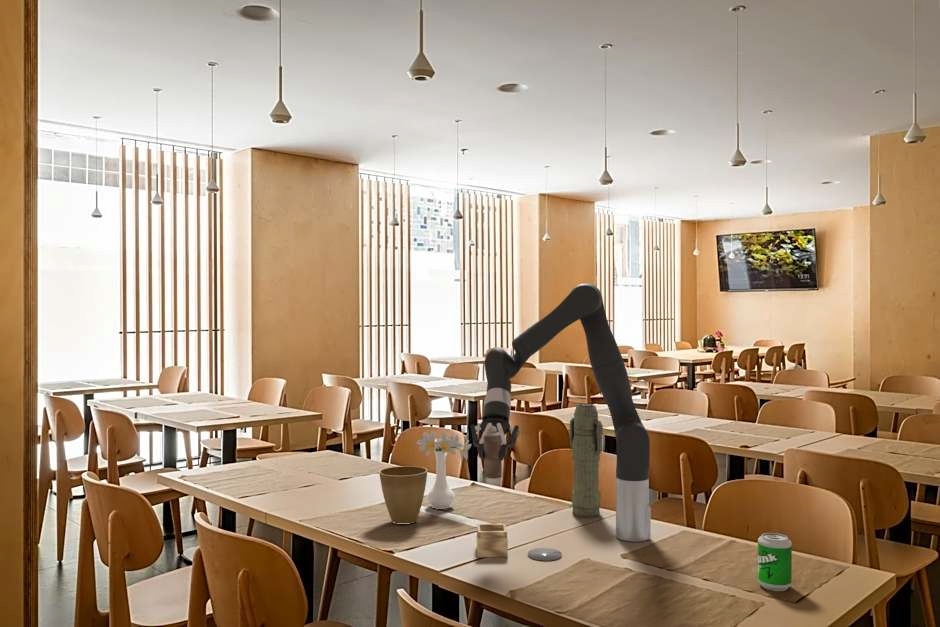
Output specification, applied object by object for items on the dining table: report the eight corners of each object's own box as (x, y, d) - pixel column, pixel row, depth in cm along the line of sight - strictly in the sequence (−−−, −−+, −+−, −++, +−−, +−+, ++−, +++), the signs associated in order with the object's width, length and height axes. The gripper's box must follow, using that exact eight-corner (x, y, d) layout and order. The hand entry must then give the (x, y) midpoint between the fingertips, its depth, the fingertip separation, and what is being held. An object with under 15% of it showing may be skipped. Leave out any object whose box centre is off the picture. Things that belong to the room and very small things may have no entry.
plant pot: (431, 515, 250) (430, 465, 250) (423, 529, 236) (423, 476, 235) (384, 514, 252) (384, 464, 252) (374, 528, 237) (374, 475, 237)
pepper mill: (501, 474, 216) (500, 424, 216) (502, 478, 212) (501, 427, 211) (483, 474, 216) (483, 424, 216) (484, 478, 211) (483, 427, 211)
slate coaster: (559, 550, 215) (559, 547, 215) (563, 560, 206) (563, 558, 206) (526, 550, 215) (526, 548, 215) (529, 561, 206) (529, 558, 206)
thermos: (595, 519, 246) (595, 407, 245) (563, 513, 253) (563, 404, 252) (609, 513, 253) (609, 404, 252) (577, 507, 260) (577, 401, 259)
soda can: (783, 580, 191) (783, 531, 191) (797, 592, 184) (797, 541, 183) (752, 581, 191) (752, 532, 191) (765, 592, 183) (765, 541, 183)
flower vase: (466, 513, 253) (466, 436, 252) (411, 510, 256) (410, 434, 256) (474, 503, 265) (474, 429, 265) (421, 501, 269) (421, 428, 269)
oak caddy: (505, 546, 219) (505, 523, 219) (507, 556, 210) (507, 532, 210) (476, 546, 219) (476, 523, 219) (477, 557, 210) (477, 532, 210)
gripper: (470, 399, 222) (463, 450, 210) (521, 400, 220) (517, 451, 208) (473, 415, 227) (467, 465, 216) (523, 416, 225) (519, 467, 213)
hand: (491, 458), depth 212 cm, fingers closed on pepper mill, 4 cm apart
